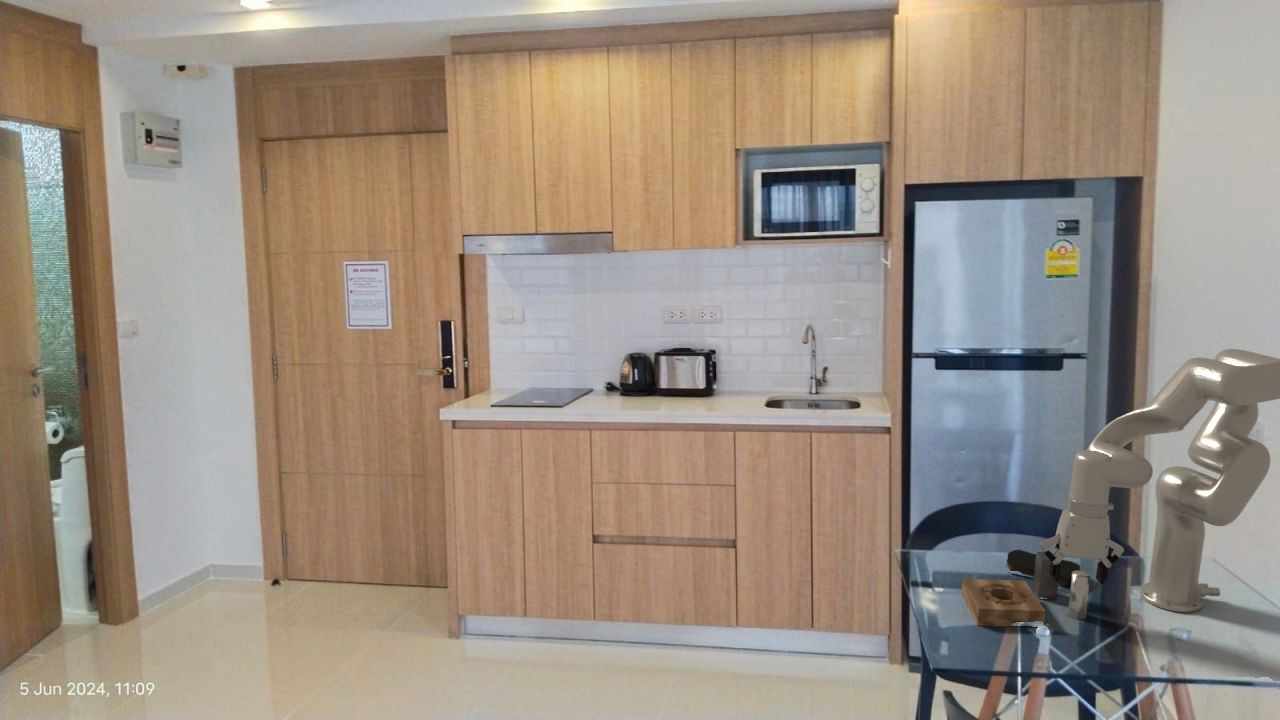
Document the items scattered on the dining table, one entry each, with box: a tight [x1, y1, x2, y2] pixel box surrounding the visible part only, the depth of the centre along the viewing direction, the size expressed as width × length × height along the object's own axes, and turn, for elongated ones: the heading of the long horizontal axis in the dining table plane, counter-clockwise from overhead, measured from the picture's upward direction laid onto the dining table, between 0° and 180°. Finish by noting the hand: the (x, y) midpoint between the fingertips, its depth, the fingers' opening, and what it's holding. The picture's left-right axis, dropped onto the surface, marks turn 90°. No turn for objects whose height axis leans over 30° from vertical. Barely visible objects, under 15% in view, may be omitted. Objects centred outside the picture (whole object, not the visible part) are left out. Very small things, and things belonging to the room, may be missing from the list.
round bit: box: [1067, 570, 1091, 620], centre depth 199 cm, size 4×4×10 cm
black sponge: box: [1005, 549, 1081, 589], centre depth 219 cm, size 16×8×4 cm, turn 53°
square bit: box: [1032, 551, 1060, 601], centre depth 208 cm, size 4×4×10 cm
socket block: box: [961, 578, 1046, 627], centre depth 202 cm, size 14×14×4 cm
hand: (1077, 580), depth 198 cm, fingers open, 9 cm apart
